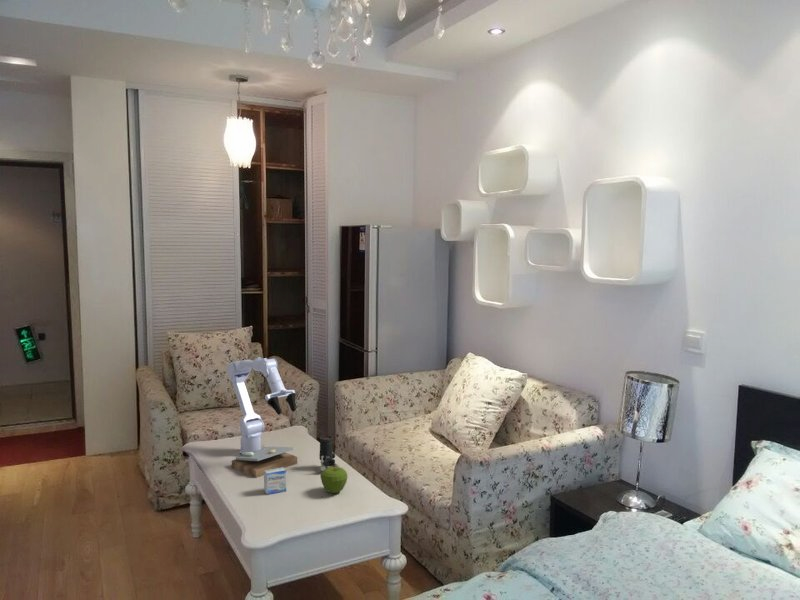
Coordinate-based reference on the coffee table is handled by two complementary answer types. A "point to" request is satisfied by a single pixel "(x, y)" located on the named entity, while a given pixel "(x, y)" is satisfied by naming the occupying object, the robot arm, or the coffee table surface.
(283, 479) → the medicine box
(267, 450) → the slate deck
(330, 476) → the apple
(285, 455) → the walnut base
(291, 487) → the coffee table surface
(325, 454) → the scope
